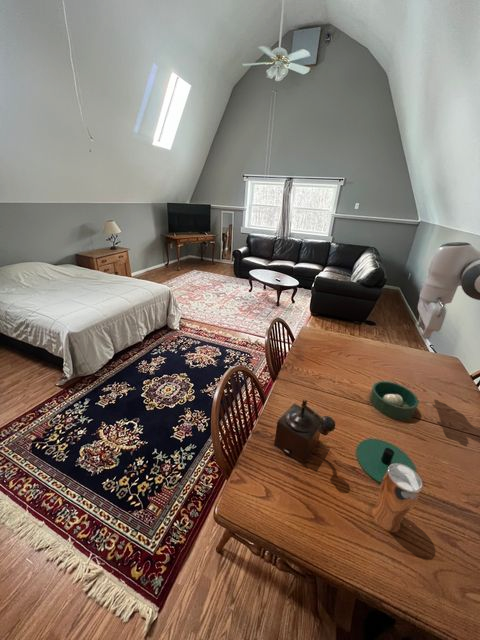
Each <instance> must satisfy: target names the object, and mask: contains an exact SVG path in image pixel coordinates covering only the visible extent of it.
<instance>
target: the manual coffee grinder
mask: <svg viewBox="0 0 480 640" xmlns="http://www.w3.org/2000/svg"><path fill="white" fill-rule="evenodd" d="M307 404H308V400H307V399H302V403H301V404H300V405H301V406H300V405H299V404H297V403H293V404H292V405H291V406H290V407H289V408H288V409H287V410H286V411H285V412H284V413H283V414H282V415H281V416H280V418H279V419H277V422H276V430H275V435H274V442H273V445H274V446H276V447H277V448H278V449H280V450H281V451H283V452H284V453H285V454H286V455H288V456H290V457H292V458H294V459H295V460H296V461H299V462H301V463H303V464H305V463H306V462H307V461H308V460H309V458H310V457H311V455H312V454H313V453H314V451H315V449H316V448H317V446H318V444H319V441H320V437H321V435H323V436H325V437H326V436H328V435H329V433H331V432H333V431H335V429H336V421H335V419H333V417H331V416H329V415H325V416H323V417H322V416H321V415H319V414H318V413H317V412H315V411H314V410H313V409H312V408H310V407H309V406H308V405H307Z"/></svg>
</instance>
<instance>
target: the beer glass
mask: <svg viewBox="0 0 480 640" xmlns="http://www.w3.org/2000/svg"><path fill="white" fill-rule="evenodd" d="M423 488H424V484H423V480H422V478H421V476H420V475H419V474H418V472H417V473H416V472H415V471H414V470H413V469H411V468H410V467H408V466H406V465H404V464H400V463H393V464H391V465H390V466H389V467H388V469H387V471H386V473H385V474H384V476H383V479H382V481H381V484H379V491H378V499H377V502H376V504H375V505H373V507H372V510H371V512H372V516H373V519H374V521H375V523H377V525H378V526H379V527H381V528H382V529H383V530H385V531H387V532H391V533H395V532H398V531H399V530H400V529H401V525H402V520H403V519H404V517H405V516H406V515H408V514H409V513H410V512H411V511H412V509H414V507H415V506H416V504H417V502H418V500H419V498H420V495H421V492H422V490H423Z"/></svg>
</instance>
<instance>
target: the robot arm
mask: <svg viewBox="0 0 480 640" xmlns="http://www.w3.org/2000/svg"><path fill="white" fill-rule="evenodd" d="M427 271H428V272H427V277H426V278H425V279H424V281H423V283H422V284H421V287H420V290H419V291H420V293H419V300H418V303H417V311H418V314H419V317H418V322H417V327H418V328H422V329H423V328H424V330H423V331H422V333H421V337H422V339H425V340H429V338H430V336H431V334H432V333H434V332H440V331H441V330H442V327H443V325H444V322H445V318H446V316H447V308H446V307H447V306H446V304H447V305H448V304H451V303H452V302H453V299H454V297H455V295H456V292H457V290H458V287H461V289H462V291H463V293H464V294H465V295H466V296H468V297H469V298H471V299H473V300H476V301H480V250H478V249H477V248H475V247H474V246H473V245H472V244H471V243H469V242H465V241H464V242H461V241H455V242H453V241H452V242H447V243H442V244H441V245H440V246H439V247H437V249H436V251H435V252H434V254H433V257H432V259H431V261H430V264H429V267H428V269H427Z"/></svg>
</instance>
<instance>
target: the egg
mask: <svg viewBox="0 0 480 640" xmlns="http://www.w3.org/2000/svg"><path fill="white" fill-rule="evenodd" d="M383 399H384V400H385V401H386V402H389V403H391V404H393V405H396V406H400V407H402V406H403V405H402V404H403V398H402V397H401V396H400V395H398V394H386V395H384V396H383Z"/></svg>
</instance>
